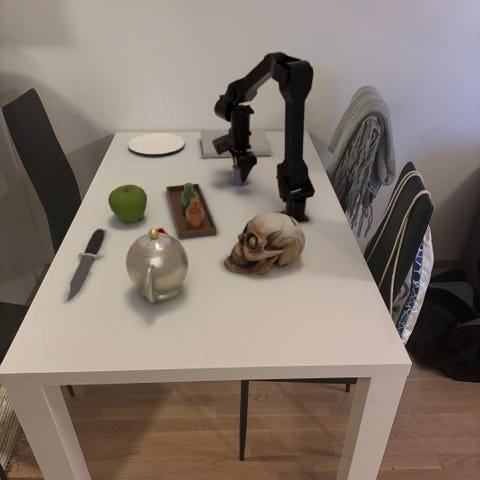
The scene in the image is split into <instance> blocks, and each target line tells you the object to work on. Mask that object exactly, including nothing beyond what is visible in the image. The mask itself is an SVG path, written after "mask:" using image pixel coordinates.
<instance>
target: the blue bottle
mask: <svg viewBox="0 0 480 480" xmlns="http://www.w3.org/2000/svg"><path fill="white" fill-rule="evenodd" d="M231 168H232V169H231V170H232V174H231V177H232V178H231V179H232V181H231V183H232V184H233V185H234V186H238V187H239V186H240V187H241V186H245V185H247V184H248V178H247V179H246V181H245V182H241V176H240V170H239V167H237V166H236V164H232V166H231Z"/></svg>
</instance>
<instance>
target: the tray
mask: <svg viewBox="0 0 480 480" xmlns="http://www.w3.org/2000/svg"><path fill="white" fill-rule="evenodd" d="M192 184H193V190H194V191H195V192H196V193H197V194H198V200H199V205H200V207H201V208H203V209H204V227H205V228H204V229H195V230H187V220H186V216H185V215H183V214H182V205H181V193H183V191H184V190H185V188H184V184H180V185H168V186H165V191H166V196H167V200H168V203H169V207H170V210H171V215H172V217H173V221H174V225H175V228H176V232H177V236H178V239H179V240H183V239H192V238H193V239H195V238H199V237H200V238H201V237H210V236H216V235H217V234H218V232H217V231H218V230H217V226H216V223H215V221H214V218H213V216H212V213H211V211H210V209H209V206H208V203H207V201H206V199H205V196H204V193H203V191H202V188H201V186H200V184H199V183H192Z"/></svg>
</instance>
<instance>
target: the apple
mask: <svg viewBox="0 0 480 480" xmlns="http://www.w3.org/2000/svg"><path fill="white" fill-rule="evenodd" d="M107 200H108V201H107V203H108V205H109V207H110V210H111V212H112V213H113V214H114V216H115V217H116V218H117V219H118V220H120V221H122V222H125V223H126V224H127V223H128V224H132V223H136V222H138V221H139V220H140V219H142V218H143V216H144V215H145V212H146V209H147V205H148V204H147V203H148V195H147V193H146V191H145V190H144V189H143V188H142V187H140V186H138V185H135V184H124V185H121V186H118V187H116V188H115V189H113V190H112V191H111V192H110V193H109V194H108V199H107Z"/></svg>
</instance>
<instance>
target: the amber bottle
mask: <svg viewBox="0 0 480 480" xmlns="http://www.w3.org/2000/svg"><path fill="white" fill-rule="evenodd" d="M186 220H187V230H195V229H204V228H205V227H204V209H203V208H201V207H200V205H199V200H198V199H197V198H192V199H190V206H189V208H187V209H186Z"/></svg>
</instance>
